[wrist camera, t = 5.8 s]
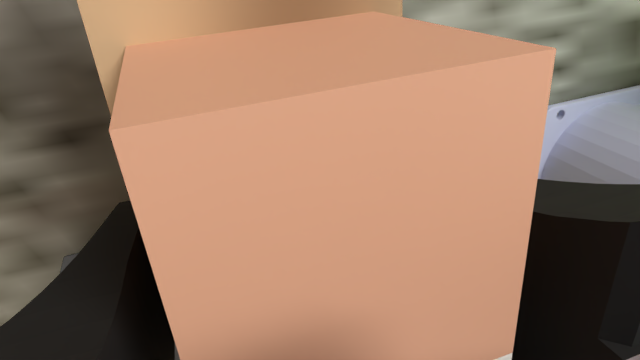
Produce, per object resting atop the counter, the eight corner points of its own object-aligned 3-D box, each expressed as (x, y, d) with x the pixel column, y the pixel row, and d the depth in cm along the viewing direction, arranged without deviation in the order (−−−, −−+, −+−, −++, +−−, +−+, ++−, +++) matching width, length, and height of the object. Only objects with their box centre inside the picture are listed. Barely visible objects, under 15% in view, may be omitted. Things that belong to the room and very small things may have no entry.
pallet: (306, -262, 9) (403, -396, 6) (349, 371, 17) (400, 472, 14) (29, -274, 8) (-59, -456, 4) (216, 418, 16) (236, 542, 13)
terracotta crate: (373, 11, 8) (556, 48, 4) (380, 213, 10) (512, 352, 6) (125, 46, 7) (107, 130, 3) (185, 265, 9) (213, 467, 5)
